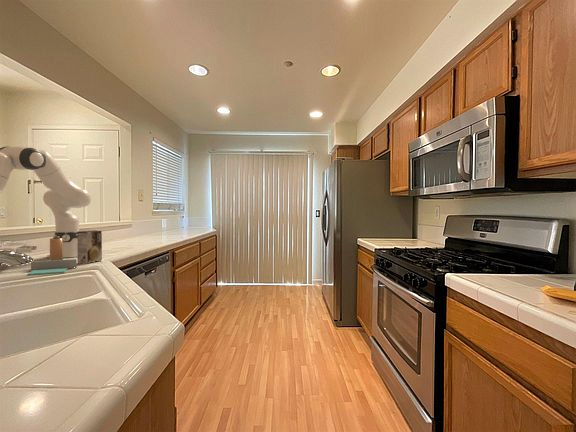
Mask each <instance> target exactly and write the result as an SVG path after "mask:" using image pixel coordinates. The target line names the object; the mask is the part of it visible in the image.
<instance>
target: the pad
mask: <svg viewBox="0 0 576 432" xmlns="http://www.w3.org/2000/svg"><path fill="white" fill-rule="evenodd" d="M66 271H68V268H59V269H44V270H33V271H31V270H30V272H27V276H38V275H39V276H40V275H50V274H51V275H53V274H64V273H66Z"/></svg>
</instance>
